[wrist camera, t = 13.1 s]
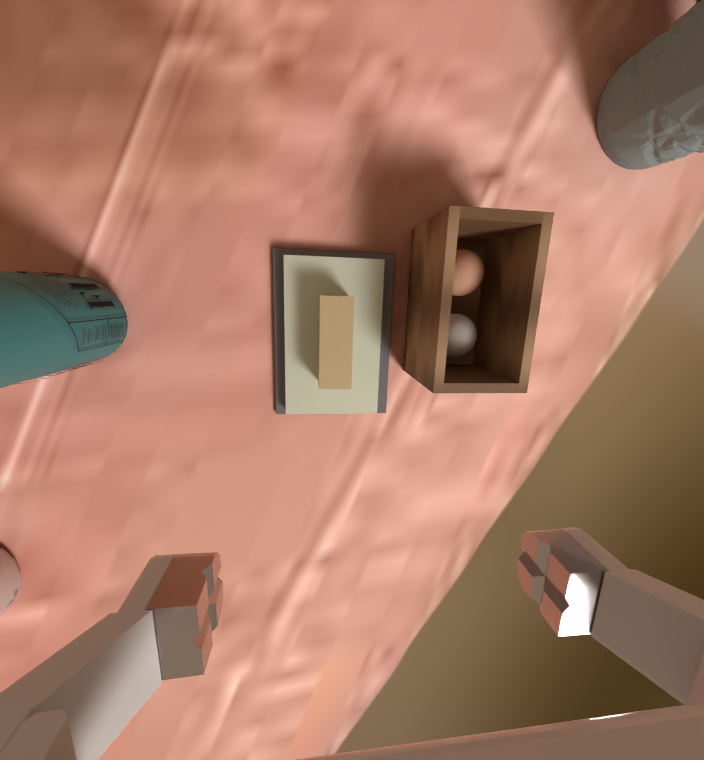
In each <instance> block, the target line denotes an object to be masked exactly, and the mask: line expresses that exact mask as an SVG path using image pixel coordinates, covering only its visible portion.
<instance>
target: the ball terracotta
mask: <svg viewBox="0 0 704 760" xmlns="http://www.w3.org/2000/svg"><path fill="white" fill-rule="evenodd" d="M483 276H484V265H483V262H482V260H481V258H480V257H479V256H478V255H477V254H476V253H474V252H472V251H470V250H465V249H460V250H456V259H455V269H454V280H453V291H452V295H454V296H464V295H467V294H469V293H471V292H473V291H474V290H476V288H477V287H478V286H479V285H480V283H481V282H482V279H483Z"/></svg>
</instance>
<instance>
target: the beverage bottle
mask: <svg viewBox="0 0 704 760" xmlns="http://www.w3.org/2000/svg"><path fill="white" fill-rule="evenodd" d="M16 272H17V271H16ZM26 272H27V271H25V272H20V271H19V272H18V273H15V272H2V271H0V388H2V387H6V386H9V385H12V384H16V383H19V382H22V381H26V380H31V379H35V378H39V377H42V376H51V375H49V374H52V373H56V372H58V374H59V371H62V370H66V369H69V368H72V367H73V368H75V369H76V366H79V365H83V364H87V363H88V365H89V364H90V363H89V362H93V361H96V360H99V359H102V358H105V357H107V356H109V355H111V354H112V353H113V352H115V351H116V350H117V349H118V348H119V346H120V345H121V344H122V343H123V341H124V339H125V336H126V333H127V328H128V321H127V315H126V312H125V309H124V307H123V305H122V303H121V302H120V300H119V299H118V298H117V297H116V295H115V294H114V293H112V292H111V291H110V290H109V289H107V287H106V286H105V287H104V286H102V285H103V284H102V285H101V284H99V283H100V282H99V283H97V282H98V281H97V282H95V281H96V280H95V281H92V280H89V279H85V278H82V277H81V278H79V276H80V275H79V276H76V277H66V276H63V275H64V274H60V275H62V276H58V275H55V274H54V273H52V275H43V274H30V273H26ZM35 273H36V272H35ZM43 273H48V272H43ZM56 274H59V273H56ZM53 275H55V276H53ZM65 275H66V274H65ZM68 276H71V274H70V275H68ZM74 276H75V275H74ZM84 277H85V276H84ZM90 279H91V278H90ZM93 280H94V279H93ZM101 361H102V360H101ZM98 362H99V361H98ZM91 364H92V363H91ZM84 366H87V365H84ZM80 367H83V366H80ZM80 367H78V368H80ZM71 370H73V369H71ZM71 370H70V371H71ZM68 371H69V370H68ZM65 372H66V371H65ZM61 373H62V372H61ZM45 378H46V377H45ZM42 379H43V378H42ZM42 379H41V380H42ZM19 384H21V383H19Z"/></svg>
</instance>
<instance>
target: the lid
mask: <svg viewBox="0 0 704 760" xmlns="http://www.w3.org/2000/svg"><path fill="white" fill-rule="evenodd" d="M384 264H385V259H365V258H344V257H322V256H301V255H284V323H285V397H286V414H349V413H377V405H378V385H379V365H380V345H381V324H382V304H383V284H384Z"/></svg>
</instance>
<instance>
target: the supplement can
mask: <svg viewBox="0 0 704 760" xmlns="http://www.w3.org/2000/svg"><path fill="white" fill-rule="evenodd" d="M20 583H21V576H20V571H19V568H18V566H17V563H16V561H15V559H14V558H13V557H12V556H11V555H10V554H9V553H8V552H7V551H6V550H5V549H3V548H1V547H0V615H1V614H2V613H3V612H4V611H5V610H6V609H7V608H8V607H9V606H10V605H11V604H12V603H13V601H14V600H15V598H16V596H17V595H18V593H19V591H20Z"/></svg>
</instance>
